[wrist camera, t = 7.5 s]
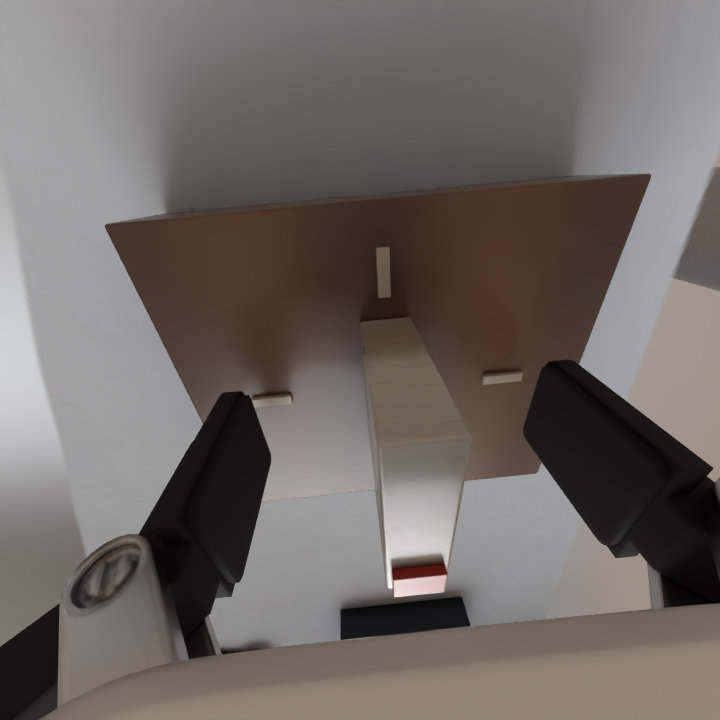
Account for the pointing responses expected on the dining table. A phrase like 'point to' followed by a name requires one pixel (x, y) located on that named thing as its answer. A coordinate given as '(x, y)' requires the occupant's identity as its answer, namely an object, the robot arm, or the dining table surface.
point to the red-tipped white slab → (412, 456)
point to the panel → (381, 307)
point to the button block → (403, 618)
